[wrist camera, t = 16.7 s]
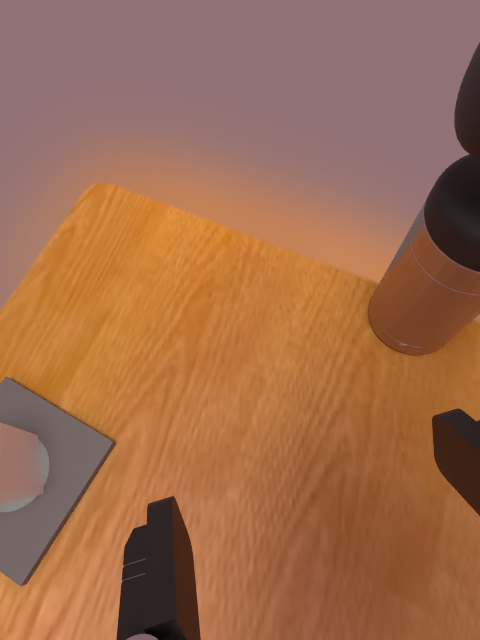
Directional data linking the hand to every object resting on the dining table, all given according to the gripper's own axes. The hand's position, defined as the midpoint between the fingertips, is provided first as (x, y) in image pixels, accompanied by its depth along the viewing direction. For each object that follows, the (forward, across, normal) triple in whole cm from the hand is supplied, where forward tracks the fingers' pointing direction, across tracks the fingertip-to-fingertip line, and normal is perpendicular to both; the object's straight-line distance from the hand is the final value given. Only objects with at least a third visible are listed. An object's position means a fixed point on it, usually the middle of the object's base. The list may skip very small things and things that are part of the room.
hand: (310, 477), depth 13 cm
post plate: (+28, +23, +15) cm, 40 cm away
